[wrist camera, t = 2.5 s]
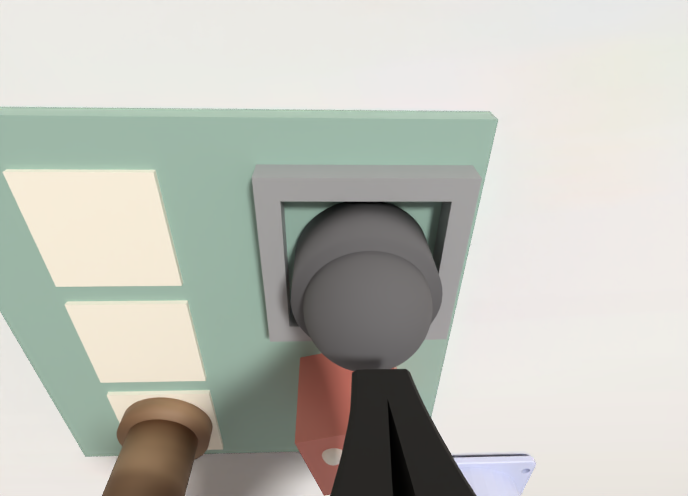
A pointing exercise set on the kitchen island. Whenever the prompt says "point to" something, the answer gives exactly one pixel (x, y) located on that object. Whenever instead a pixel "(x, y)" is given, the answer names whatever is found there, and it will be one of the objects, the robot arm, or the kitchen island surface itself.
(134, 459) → the flanged wooden peg
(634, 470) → the kitchen island surface
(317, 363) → the die
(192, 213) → the board
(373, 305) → the dark gray round knob
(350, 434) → the robot arm
